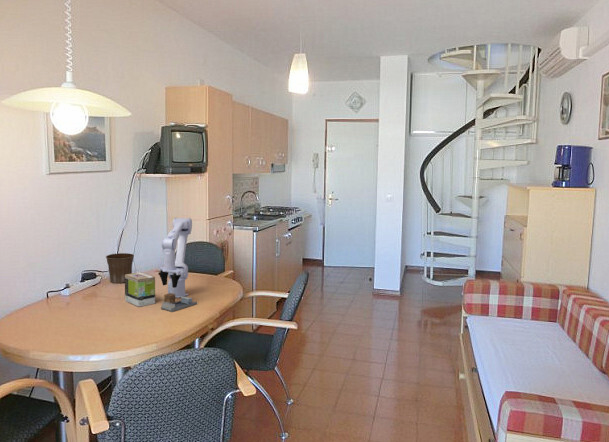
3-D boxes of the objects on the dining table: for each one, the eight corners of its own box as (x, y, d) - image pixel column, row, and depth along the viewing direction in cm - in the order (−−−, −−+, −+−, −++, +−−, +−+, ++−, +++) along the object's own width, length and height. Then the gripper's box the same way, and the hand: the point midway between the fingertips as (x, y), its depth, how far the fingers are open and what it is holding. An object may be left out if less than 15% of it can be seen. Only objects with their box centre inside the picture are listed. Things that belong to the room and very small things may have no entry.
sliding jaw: (180, 302, 251) (180, 296, 251) (184, 301, 253) (184, 295, 253) (188, 304, 248) (188, 298, 247) (192, 303, 250) (192, 297, 250)
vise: (161, 309, 242) (161, 302, 241) (186, 301, 256) (186, 295, 255) (171, 312, 237) (171, 305, 237) (197, 304, 252) (197, 297, 251)
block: (164, 303, 251) (164, 294, 250) (170, 302, 254) (170, 293, 254) (169, 305, 249) (169, 296, 248) (175, 303, 252) (175, 294, 251)
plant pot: (128, 285, 286) (128, 258, 284) (102, 284, 286) (101, 258, 284) (138, 278, 302) (137, 253, 300) (113, 277, 302) (112, 252, 300)
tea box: (156, 303, 251) (155, 276, 249) (138, 307, 244) (137, 279, 242) (141, 297, 261) (141, 271, 259) (124, 301, 254) (123, 274, 252)
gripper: (154, 260, 249) (154, 285, 251) (172, 264, 241) (173, 290, 243) (164, 258, 255) (165, 282, 257) (183, 261, 247) (183, 287, 249)
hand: (169, 286), depth 250 cm, fingers open, 7 cm apart
